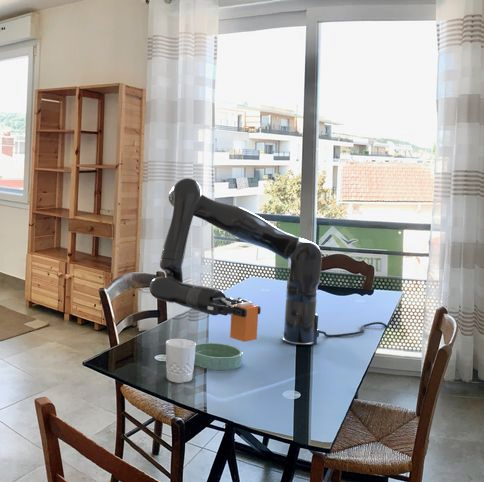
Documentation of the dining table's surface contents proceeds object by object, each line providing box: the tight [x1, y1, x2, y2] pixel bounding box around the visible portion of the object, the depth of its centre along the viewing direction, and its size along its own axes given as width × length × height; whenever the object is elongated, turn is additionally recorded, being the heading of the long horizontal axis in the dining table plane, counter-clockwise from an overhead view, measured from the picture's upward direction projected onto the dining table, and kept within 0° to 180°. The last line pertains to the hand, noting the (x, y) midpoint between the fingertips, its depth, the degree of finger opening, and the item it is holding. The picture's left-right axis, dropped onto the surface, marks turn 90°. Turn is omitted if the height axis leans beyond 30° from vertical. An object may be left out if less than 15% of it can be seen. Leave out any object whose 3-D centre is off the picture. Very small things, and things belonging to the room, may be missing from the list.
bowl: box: [194, 342, 243, 371], centre depth 178 cm, size 14×14×4 cm
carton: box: [229, 300, 259, 343], centre depth 169 cm, size 5×5×10 cm
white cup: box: [165, 338, 197, 384], centre depth 165 cm, size 8×8×10 cm
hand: (252, 311), depth 166 cm, fingers closed on carton, 5 cm apart
